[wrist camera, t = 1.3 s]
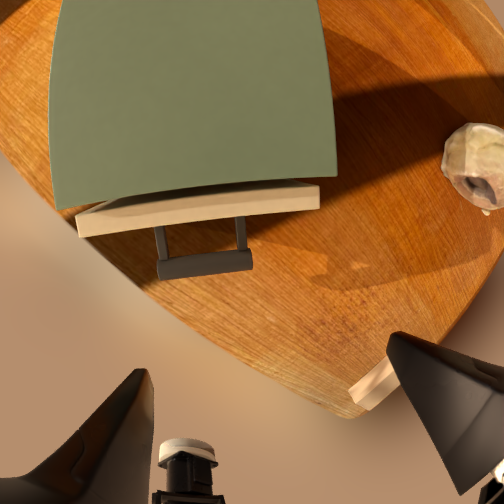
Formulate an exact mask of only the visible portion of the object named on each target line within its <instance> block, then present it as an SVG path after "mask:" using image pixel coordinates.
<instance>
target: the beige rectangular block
mask: <svg viewBox="0 0 504 504" xmlns="http://www.w3.org/2000/svg"><path fill="white" fill-rule="evenodd" d="M399 385H400V382H399V380H398V378H397V376H396V374H395V371H394V369H393V367H392V365H391V363H390V361H389V359H388V356H387V355H386V356H385V357H384V358H383V359H382V360H381V361H380V362H379V363H378V364H377V365H376V366H375V367H374V368H373V369H372V370H370V371H369V372H368V373H367V374H366V375H365V376H364V377H363V378H362V379H360V380H359V381H358V382H357V383H356V384H355V385H353V386H352V387H351V388H350V389H349V390H348V392H349V393H350V395H351V397H352V398H353V400H354V402H355V403H356V404H357V405H359V406H361V407H363V408H365V409H367V410H369V411H370V410H371V409H372V408H374V407H375V406H376V405H377V404H378V403H380V402H381V401H382V400H383V399H384V398H385V397H387V396H388V395H389V394H390V393H391V392H392V391H393V390H394V389H396V388H397V387H398V386H399Z"/></svg>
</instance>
